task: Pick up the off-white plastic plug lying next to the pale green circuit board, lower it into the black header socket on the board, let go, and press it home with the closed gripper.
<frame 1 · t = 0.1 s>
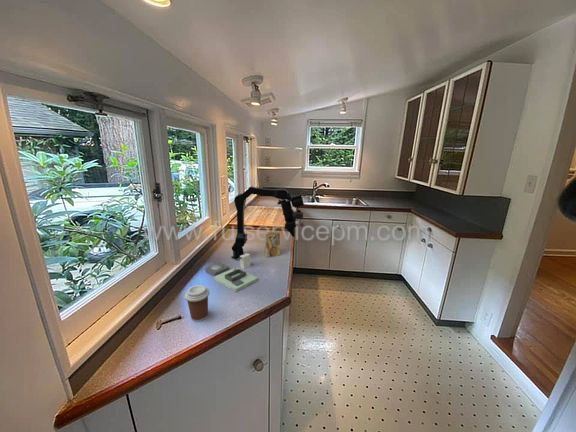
hand: (293, 234, 146), 15 cm above the table, tool pointing down, fingers open, 9 cm apart
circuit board: (235, 279, 124), on the table
coffee cup: (199, 316, 96), on the table
plug: (245, 266, 138), on the table
candy box: (272, 255, 153), on the table
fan: (217, 271, 132), on the table
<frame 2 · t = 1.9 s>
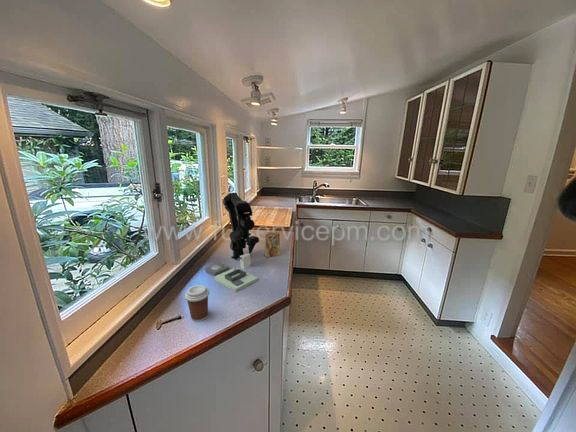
hand: (244, 251, 136), 9 cm above the table, tool pointing down, fingers open, 9 cm apart
nothing on the table moved.
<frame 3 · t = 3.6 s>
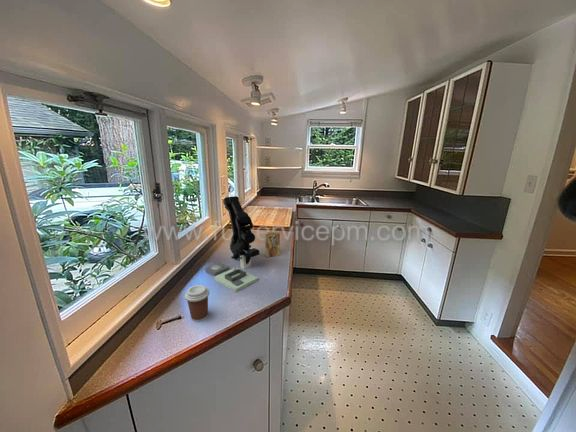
hand: (245, 263, 138), 2 cm above the table, tool pointing down, fingers closed on plug, 3 cm apart
plug: (245, 266, 138), on the table, touching gripper
everything else where it was.
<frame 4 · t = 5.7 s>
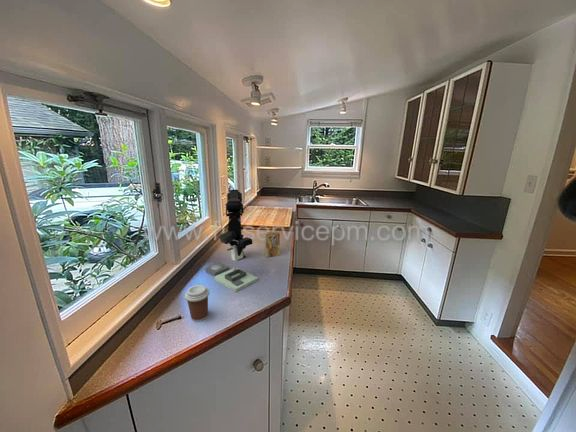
hand: (237, 254, 123), 13 cm above the table, tool pointing down, fingers closed on plug, 3 cm apart
plug: (237, 258, 124), point 11 cm above the table, touching gripper
everything else where it was.
when the fingers open (4 cm above the table, at t = 8.0 s): plug stays where it is, resting on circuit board.
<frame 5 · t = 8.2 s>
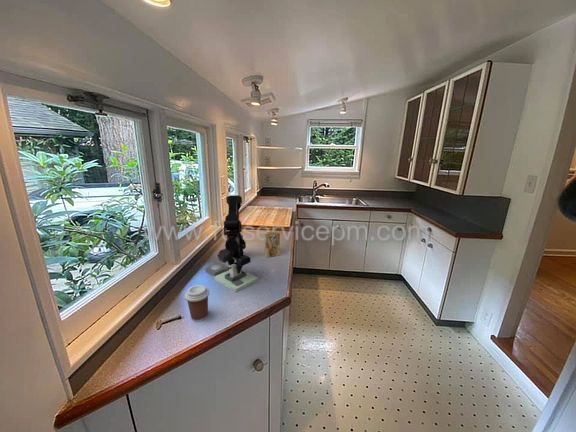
hand: (235, 271, 123), 4 cm above the table, tool pointing down, fingers open, 5 cm apart
plug: (235, 277, 123), point 1 cm above the table, touching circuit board
everything else where it was.
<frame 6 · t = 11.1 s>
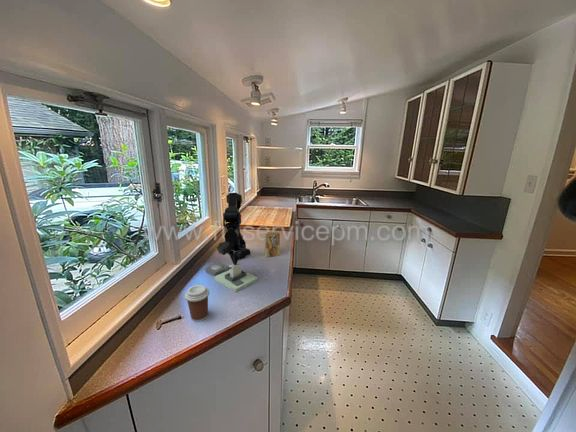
hand: (234, 264, 122), 8 cm above the table, tool pointing down, fingers closed, pressing on plug
plug: (235, 277, 123), point 1 cm above the table, touching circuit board, gripper
everything else where it was.
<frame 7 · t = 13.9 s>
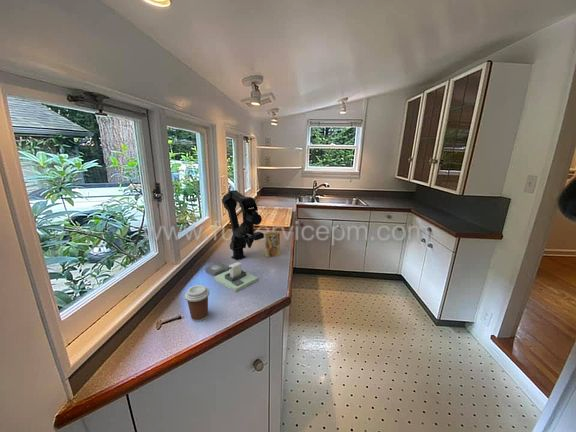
hand: (249, 247, 134), 12 cm above the table, tool pointing down, fingers closed
plug: (235, 277, 123), point 1 cm above the table, touching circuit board
everything else where it was.
at the end: plug 0.1 cm off-centre on the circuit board, point 1.5 cm above the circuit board's base; plug tilted 0°; the gripper is holding nothing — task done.
